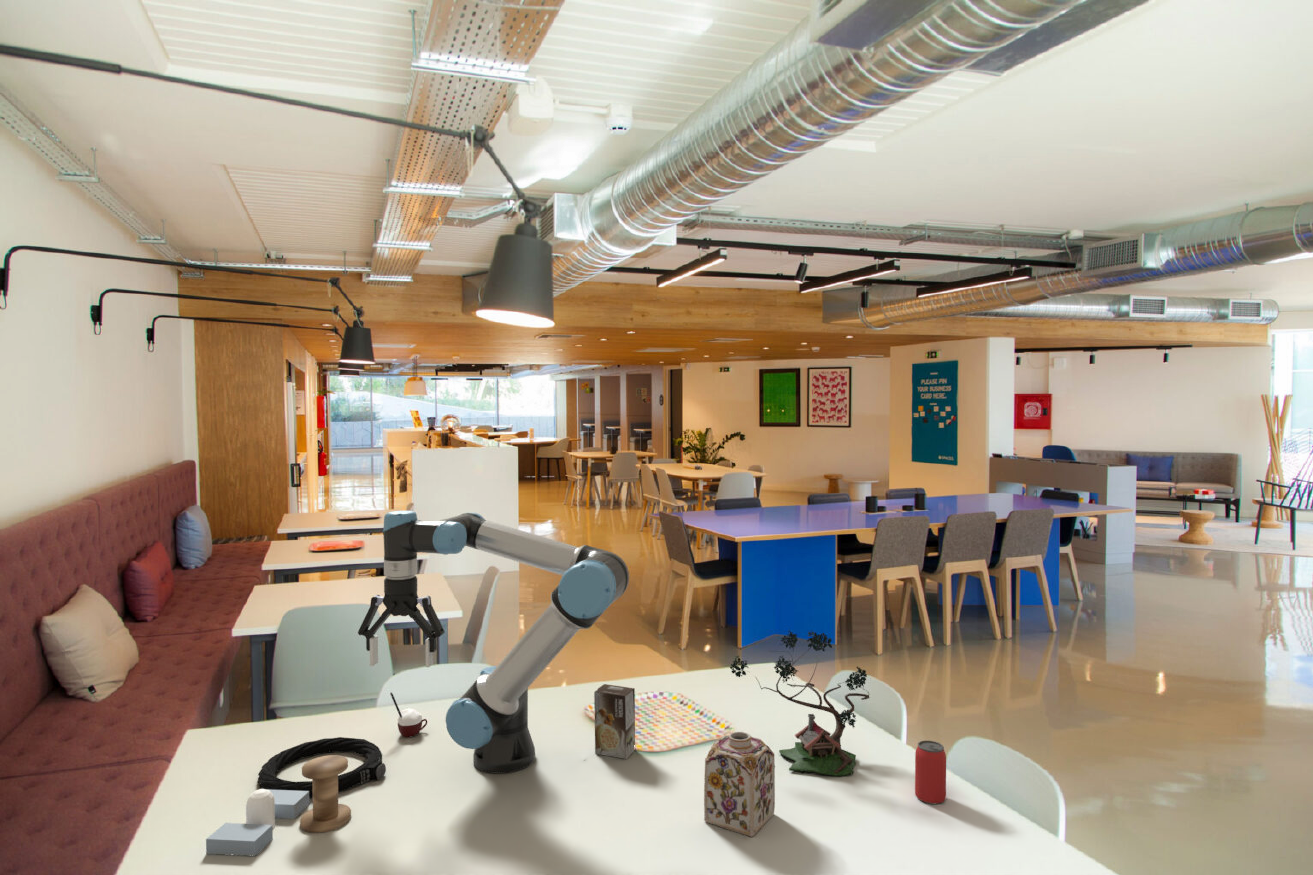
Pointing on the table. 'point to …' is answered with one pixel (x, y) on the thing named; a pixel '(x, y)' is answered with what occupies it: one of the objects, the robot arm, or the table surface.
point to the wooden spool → (325, 795)
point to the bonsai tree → (816, 742)
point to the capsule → (261, 808)
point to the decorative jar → (739, 783)
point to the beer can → (930, 772)
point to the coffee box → (614, 721)
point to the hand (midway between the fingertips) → (401, 664)
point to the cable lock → (340, 744)
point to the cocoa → (409, 721)
